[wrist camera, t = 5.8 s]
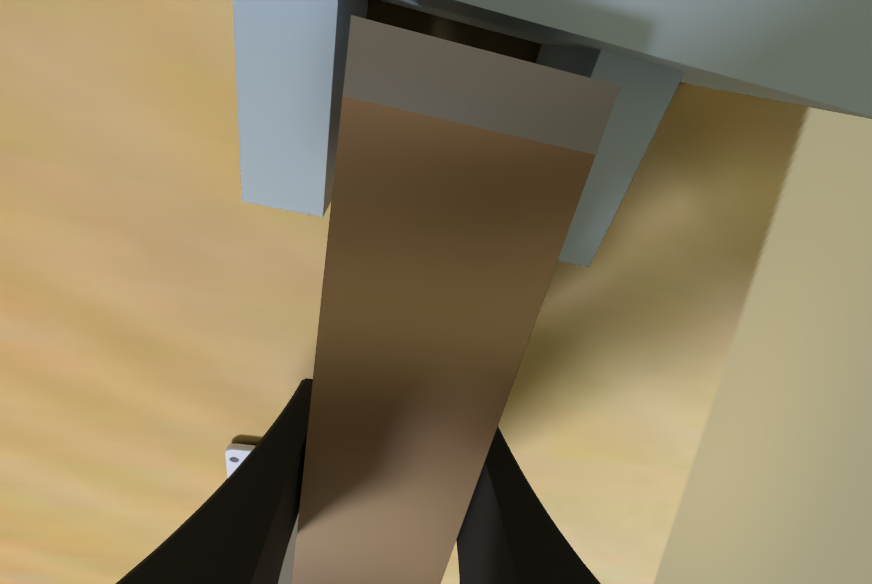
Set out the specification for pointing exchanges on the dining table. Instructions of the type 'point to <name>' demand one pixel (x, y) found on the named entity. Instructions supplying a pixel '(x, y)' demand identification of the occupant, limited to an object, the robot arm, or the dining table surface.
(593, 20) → the pale blue bench
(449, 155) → the brown wooden block
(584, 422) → the dining table surface
